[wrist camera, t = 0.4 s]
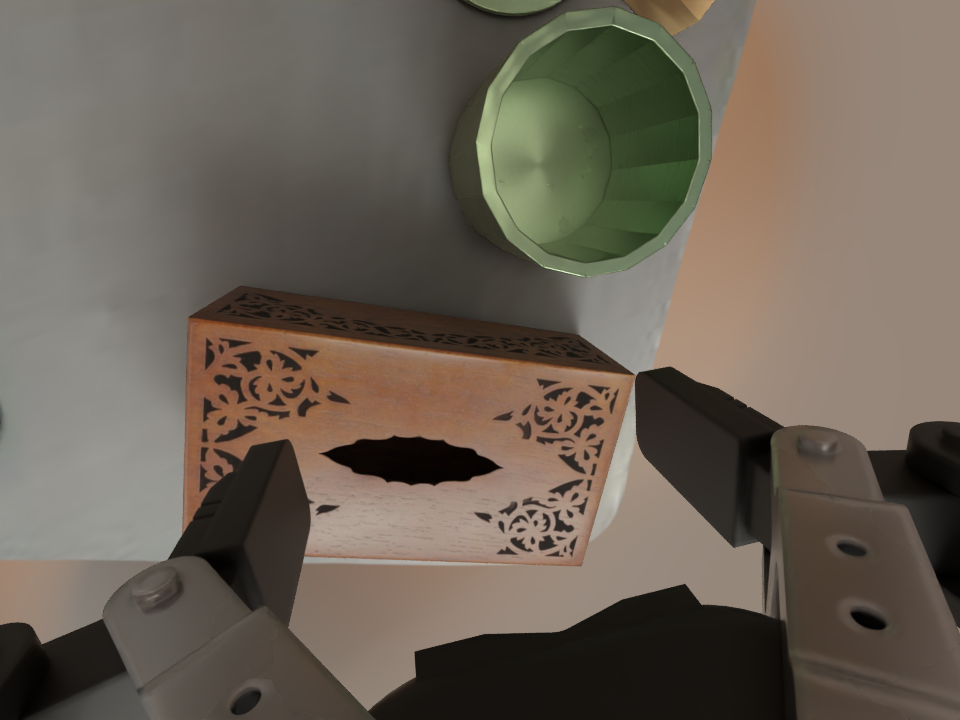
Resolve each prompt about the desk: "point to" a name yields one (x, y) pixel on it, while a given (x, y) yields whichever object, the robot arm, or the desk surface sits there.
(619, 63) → the canister
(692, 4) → the block
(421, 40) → the desk surface
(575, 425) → the tissue box cover
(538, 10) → the lid
